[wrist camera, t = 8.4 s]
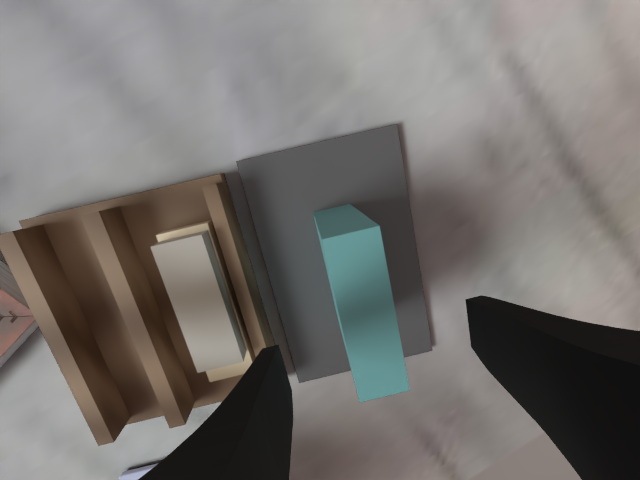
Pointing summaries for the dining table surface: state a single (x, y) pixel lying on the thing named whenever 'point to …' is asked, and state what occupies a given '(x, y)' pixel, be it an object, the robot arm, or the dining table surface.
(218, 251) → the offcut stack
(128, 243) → the walnut rack
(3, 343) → the picture frame
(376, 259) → the teal block
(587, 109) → the dining table surface
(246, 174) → the rubber mat
